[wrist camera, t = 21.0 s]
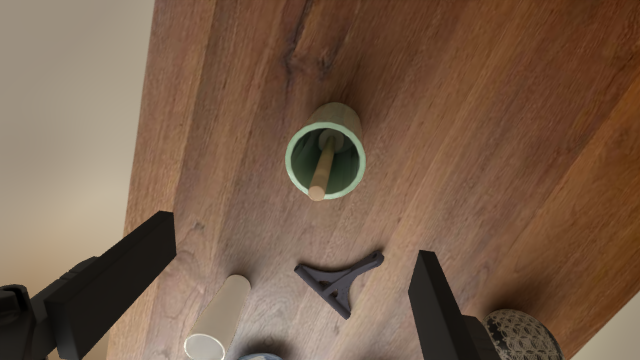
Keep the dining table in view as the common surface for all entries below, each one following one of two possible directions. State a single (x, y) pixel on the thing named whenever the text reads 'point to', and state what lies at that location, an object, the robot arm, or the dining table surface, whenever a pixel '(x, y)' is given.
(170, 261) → the robot arm
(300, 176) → the vase
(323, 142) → the bottle brush
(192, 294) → the dining table surface
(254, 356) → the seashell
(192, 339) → the drinking glass
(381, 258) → the bracket
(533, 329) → the decorative egg
